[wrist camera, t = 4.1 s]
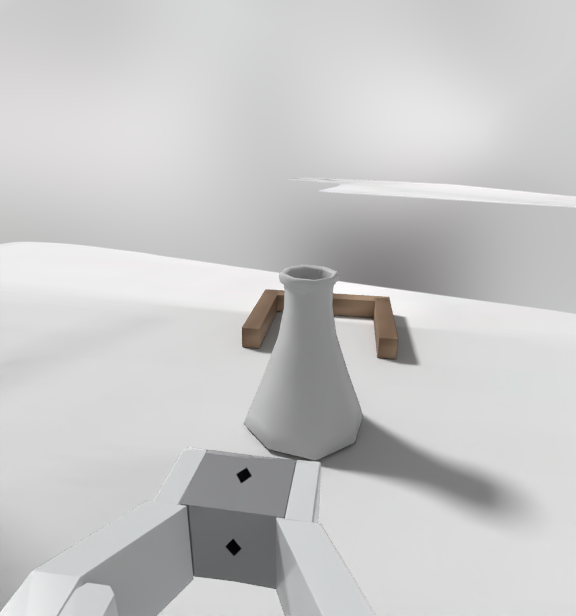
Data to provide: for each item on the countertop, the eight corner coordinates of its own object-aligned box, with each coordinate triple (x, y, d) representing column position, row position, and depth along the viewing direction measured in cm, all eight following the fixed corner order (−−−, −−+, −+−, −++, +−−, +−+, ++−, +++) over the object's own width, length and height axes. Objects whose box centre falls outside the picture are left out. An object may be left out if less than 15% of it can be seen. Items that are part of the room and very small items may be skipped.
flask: (381, 418, 29) (397, 269, 25) (320, 481, 23) (329, 303, 20) (292, 382, 33) (295, 250, 29) (223, 429, 27) (216, 273, 24)
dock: (242, 346, 38) (241, 327, 37) (265, 305, 48) (265, 289, 47) (395, 359, 36) (398, 339, 36) (387, 313, 46) (389, 296, 45)
